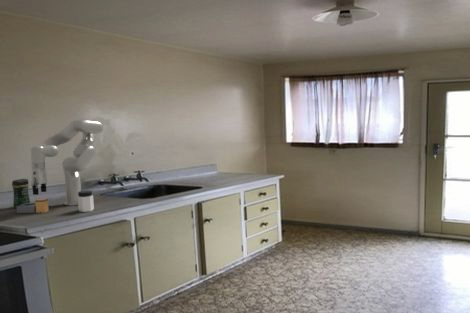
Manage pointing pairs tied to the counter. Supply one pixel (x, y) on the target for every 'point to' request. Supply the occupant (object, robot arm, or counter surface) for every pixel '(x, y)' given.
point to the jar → (85, 201)
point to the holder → (27, 208)
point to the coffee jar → (20, 192)
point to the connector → (41, 205)
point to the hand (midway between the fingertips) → (39, 193)
